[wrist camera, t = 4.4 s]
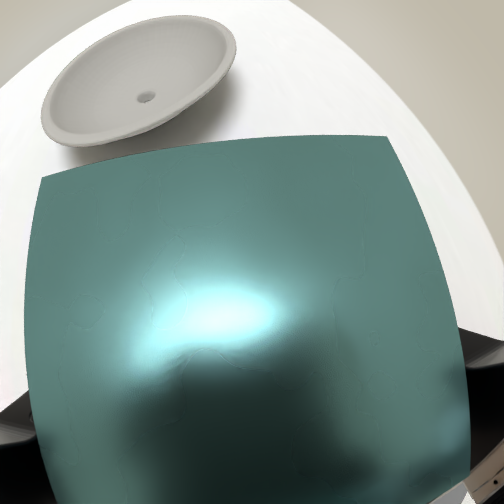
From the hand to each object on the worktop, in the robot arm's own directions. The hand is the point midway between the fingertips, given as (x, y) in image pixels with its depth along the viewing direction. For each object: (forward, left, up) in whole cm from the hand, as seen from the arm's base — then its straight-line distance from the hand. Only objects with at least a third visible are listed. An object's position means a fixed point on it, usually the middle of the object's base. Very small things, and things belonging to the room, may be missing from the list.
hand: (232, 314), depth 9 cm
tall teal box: (-1, -1, -7) cm, 7 cm away
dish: (+14, +13, -7) cm, 20 cm away
